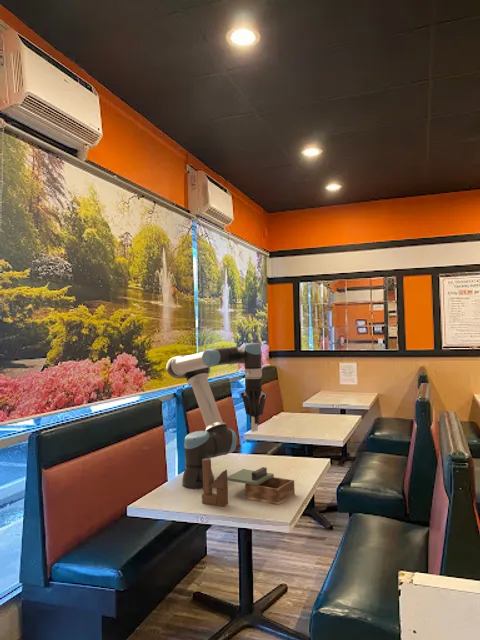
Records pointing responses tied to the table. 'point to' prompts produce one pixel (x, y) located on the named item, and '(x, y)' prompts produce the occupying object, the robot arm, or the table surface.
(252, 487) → the wooden box
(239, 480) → the lid
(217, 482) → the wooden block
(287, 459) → the table surface
